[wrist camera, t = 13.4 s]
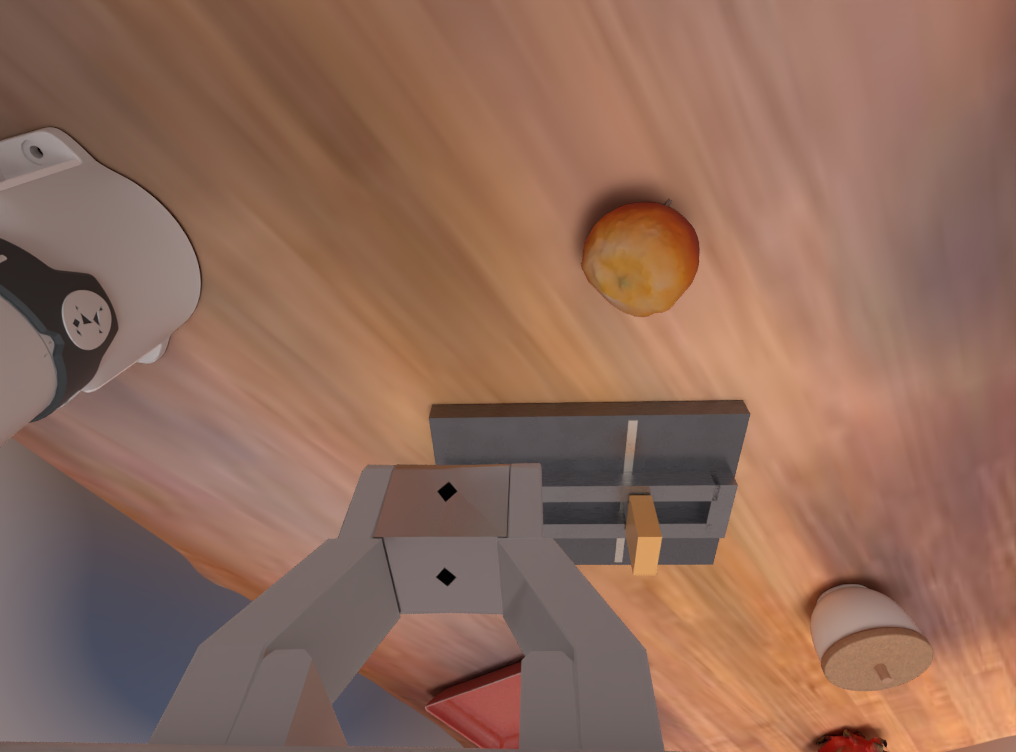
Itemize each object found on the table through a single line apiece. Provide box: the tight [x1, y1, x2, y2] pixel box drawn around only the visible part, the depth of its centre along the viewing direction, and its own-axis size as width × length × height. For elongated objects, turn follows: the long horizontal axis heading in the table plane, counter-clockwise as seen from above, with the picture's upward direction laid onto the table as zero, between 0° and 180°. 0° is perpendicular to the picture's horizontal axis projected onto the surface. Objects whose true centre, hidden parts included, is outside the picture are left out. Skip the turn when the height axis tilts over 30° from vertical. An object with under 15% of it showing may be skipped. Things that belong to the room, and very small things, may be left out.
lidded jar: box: [810, 584, 934, 691], centre depth 61 cm, size 11×11×9 cm
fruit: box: [581, 199, 699, 317], centre depth 40 cm, size 8×8×8 cm
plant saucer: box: [425, 662, 521, 749], centre depth 78 cm, size 18×18×3 cm
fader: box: [623, 495, 662, 575], centre depth 51 cm, size 2×5×7 cm, turn 3°
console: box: [429, 400, 750, 565], centre depth 54 cm, size 28×20×4 cm
